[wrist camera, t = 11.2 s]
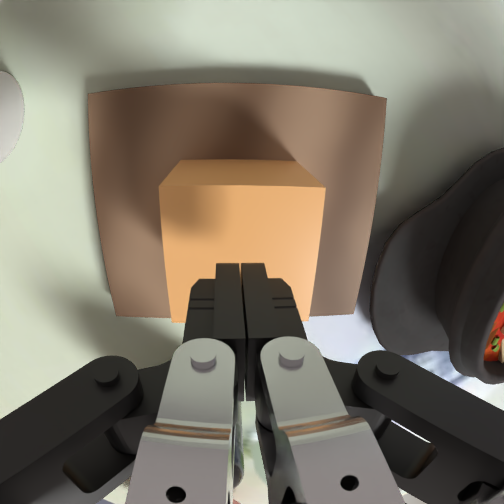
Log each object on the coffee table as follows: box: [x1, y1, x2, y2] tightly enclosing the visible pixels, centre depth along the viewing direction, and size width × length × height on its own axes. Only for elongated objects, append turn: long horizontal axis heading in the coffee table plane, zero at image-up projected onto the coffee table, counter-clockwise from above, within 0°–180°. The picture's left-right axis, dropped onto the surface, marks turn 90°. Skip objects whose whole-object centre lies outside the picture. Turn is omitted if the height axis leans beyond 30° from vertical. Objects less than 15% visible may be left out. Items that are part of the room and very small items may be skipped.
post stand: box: [88, 83, 387, 318], centre depth 16 cm, size 16×14×6 cm
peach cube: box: [159, 159, 326, 323], centre depth 15 cm, size 6×6×6 cm
